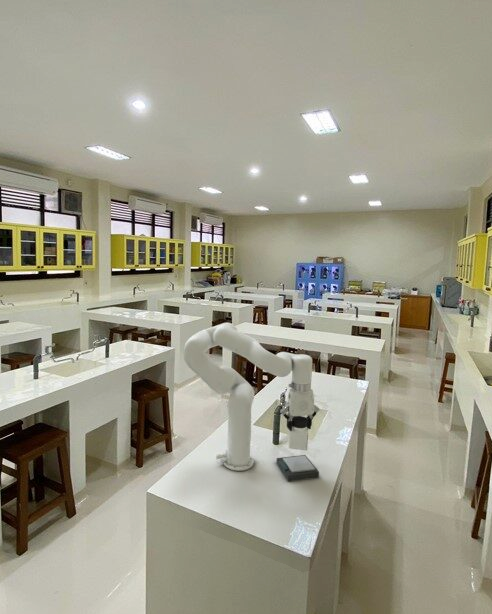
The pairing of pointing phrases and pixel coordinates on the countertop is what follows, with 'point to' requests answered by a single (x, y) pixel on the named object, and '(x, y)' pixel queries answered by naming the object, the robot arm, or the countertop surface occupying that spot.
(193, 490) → the countertop surface
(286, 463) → the lab scale
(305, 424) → the medicine bottle
